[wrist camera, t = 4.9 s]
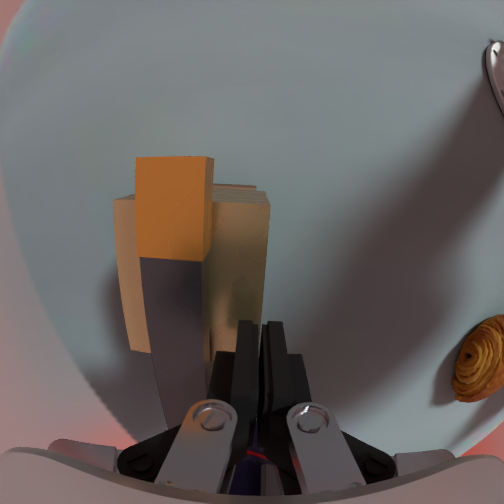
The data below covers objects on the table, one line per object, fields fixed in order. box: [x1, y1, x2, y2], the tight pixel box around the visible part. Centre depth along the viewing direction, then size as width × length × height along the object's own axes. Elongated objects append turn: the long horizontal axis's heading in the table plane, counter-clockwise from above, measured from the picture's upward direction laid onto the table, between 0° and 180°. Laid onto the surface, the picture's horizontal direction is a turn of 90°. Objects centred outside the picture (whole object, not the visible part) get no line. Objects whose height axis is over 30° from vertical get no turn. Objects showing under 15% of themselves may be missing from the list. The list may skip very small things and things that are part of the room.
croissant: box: [452, 314, 504, 403], centre depth 22 cm, size 14×16×8 cm
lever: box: [135, 156, 214, 430], centre depth 10 cm, size 16×3×2 cm, turn 176°
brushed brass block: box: [113, 189, 270, 362], centre depth 13 cm, size 7×6×6 cm
